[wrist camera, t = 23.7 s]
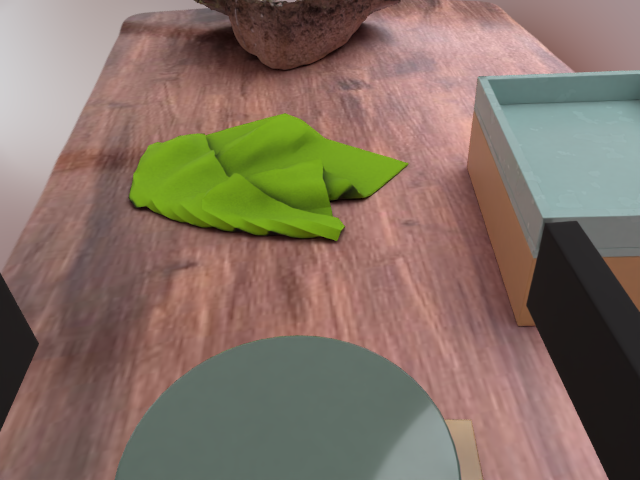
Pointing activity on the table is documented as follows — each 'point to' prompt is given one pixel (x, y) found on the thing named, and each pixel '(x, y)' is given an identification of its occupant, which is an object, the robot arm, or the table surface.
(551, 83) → the teal and tan box
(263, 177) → the cloth
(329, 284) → the table surface
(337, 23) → the rock
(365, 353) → the jar
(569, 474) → the table surface
